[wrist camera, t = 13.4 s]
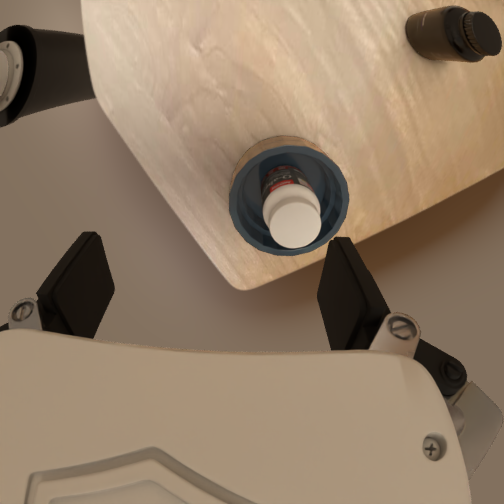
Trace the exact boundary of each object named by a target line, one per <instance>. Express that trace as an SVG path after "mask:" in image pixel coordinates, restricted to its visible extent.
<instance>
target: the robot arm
mask: <svg viewBox="0 0 504 504" xmlns="http://www.w3.org/2000/svg"><path fill="white" fill-rule="evenodd" d="M23 72H24V56H23V52H22V49H21V47H20V46H19V44H18V43H16V42H14V41H4V42H2V43H0V111H2V110H4V109H6V108H7V107H8V106H9V105H10V104H11V103H12V101H13V100H14V98H15V96H16V94H17V92H18V90H19V87H20V85H21V81H22V78H23ZM114 290H115V287H114V282H113V279H112V276H111V272H110V269H109V265H108V262H107V258H106V255H105V251H104V247H103V243H102V240H101V237H100V235H98V234H97V233H96V232H83V233H82V234H81V235H80V236H79V237H78V239H77V240H76V241H75V242H74V243H73V244H72V246H71V247H70V248H69V249H68V251H67V252H66V253H65V254H64V256H63V257H62V258H61V260H60V261H59V262H58V263H57V265H56V266H55V267H54V269H53V270H52V271H51V273H50V274H49V276H48V277H47V278H46V280H45V281H44V282H43V284H42V285H41V287H40V288H39V290H38V291H37V293H36V294H37V296H38V300H37V302H36V301H35V300H34V299H32V298H25V299H22V300H20V301H18V302H17V303H16V304H15V305H14V306H13V307H12V308H11V309H10V312H9V315H8V323H6V324H4V325H3V326H1V327H0V504H472V501H471V494H470V487H469V482H468V481H469V479H470V478H471V476H472V475H473V473H474V472H475V471H476V469H477V468H478V466H479V464H480V463H481V461H482V460H483V458H484V457H485V455H486V454H487V452H488V450H489V449H490V447H491V445H492V443H493V442H494V440H495V438H496V436H497V434H498V433H499V431H500V429H501V427H502V424H503V415H502V412H501V410H500V409H499V407H498V406H497V405H496V404H495V403H494V402H493V401H492V400H491V399H490V398H489V397H488V396H487V395H486V394H485V393H484V392H483V391H482V390H481V389H480V388H479V387H478V386H477V385H476V384H475V383H474V382H473V381H471V382H470V383H469V382H468V381H467V374H466V370H465V368H464V366H463V365H462V364H461V362H460V361H458V360H457V359H455V358H454V357H452V356H450V355H448V354H447V353H445V352H443V351H441V350H439V349H438V348H436V347H434V346H432V345H431V344H429V343H427V342H425V341H424V340H422V339H420V335H421V330H420V327H419V325H418V324H417V322H416V321H415V320H414V319H413V318H412V317H410V316H408V315H406V314H404V313H399V312H394V313H391V312H390V310H389V308H388V306H387V304H386V302H385V300H384V298H383V296H382V294H381V292H380V290H379V288H378V286H377V284H376V282H375V281H374V279H373V277H372V275H371V273H370V272H369V270H367V268H366V266H365V264H364V262H363V261H362V259H361V257H360V255H359V254H358V252H357V250H356V248H355V246H354V245H353V243H352V241H351V239H350V238H349V237H335V238H334V240H330V241H329V245H328V249H327V254H326V258H325V263H324V267H323V271H322V276H321V280H320V284H319V288H318V292H317V299H318V303H319V306H320V310H321V314H322V318H323V321H324V325H325V329H326V332H327V336H328V340H329V344H330V348H331V351H305V352H303V351H302V352H232V351H208V350H190V349H176V348H164V347H153V346H143V345H134V344H125V343H117V342H110V341H103V340H96V339H93V338H94V336H95V333H96V331H97V329H98V327H99V324H100V322H101V320H102V318H103V315H104V313H105V311H106V309H107V307H108V305H109V302H110V300H111V298H112V296H113V294H114Z"/></svg>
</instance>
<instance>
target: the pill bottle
mask: <svg viewBox="0 0 504 504" xmlns="http://www.w3.org/2000/svg"><path fill="white" fill-rule="evenodd" d="M261 198H262V210H263V217H264V221H265V223H266V225H267V226H268V228H269V229H270V233H271V235H272V237H273V239H274V240H275V241H276V242H277V243H278V244H280V245H282V246H284V247H287V248H300V247H303V246H306V245H308V244H310V243H311V242H312V241H313V240H314V239H315V238H316V237H317V236H318V234H319V232H320V229H321V218H320V204H319V201H318V199H317V196H316V195H315V193H314V191H313V189H312V187H311V185H310V183H309V181H308V180H307V177H306V176H305V175H304V174H303V172H301V171H300V170H299V169H297V168H295V167H292V166H278V167H276V168H274V169H272V170H270V171H269V172H268V173H267V174H266V175H265V177H264V178H263V181H262V184H261Z"/></svg>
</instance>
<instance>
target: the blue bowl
mask: <svg viewBox="0 0 504 504" xmlns="http://www.w3.org/2000/svg"><path fill="white" fill-rule="evenodd" d="M278 166H292V167H295V168H297V169H299V170H300V171H301V172H303V174H304V175H305V176H306V177H307V180H308V181H309V183H310V185H311V187H312V189H313V191H314V193H315V195H316V196H317V199H318V201H319V204H320V218H321V229H320V232H319V234H318V236H317V237H316V238H315V239H314V240H313V241H312V242H311V243H310V244H308V245H306V246H303V247H300V248H287V247H284V246H282V245H280V244H278V243H277V242H276V241H275V240H274V239H273V237H272V235H271V233H270V229H269V228H268V226H267V225H266V223H265V221H264V217H263V210H262V198H261V184H262V181H263V178H264V177H265V175H266V174H267V173H268V172H269V171H270V170H272V169H274V168H276V167H278ZM348 204H349V193H348V186H347V182H346V180H345V178H344V176H343V174H342V172H341V170H340V168H339V167H338V166H337V165H336V164H335V163H334V162H333V161H332V160H331V159H330V158H329V157H328V156H327V155H326V154H325V153H324V152H323V151H322V150H321V149H320V148H318V147H317V146H316V145H315V144H314V143H311V142H309V141H307V140H304V139H302V138H299V137H291V136H277V137H273V138H269V139H265V140H262V141H261V142H259V143H258V144H256V145H254V146H253V147H251V148H250V149H249V150H247V152H246V153H245V154H244V155H243V157H242V158H241V159H240V160H239V162H238V163H237V166H236V168H235V171H234V174H233V177H232V181H231V187H230V193H229V211H230V215H231V218H232V221H233V224H234V226H235V228H236V230H237V231H238V232H239V233H240V235H241V236H242V237H243V238H244V240H245V241H246V242H248V243H249V244H251V245H252V246H254V247H255V248H257V249H258V250H260V251H263V252H267V253H270V254H273V255H277V256H293V255H294V256H295V255H299V254H303V253H308V252H311V251H313V250H315V249H317V248H318V247H320V246H322V245H324V244H325V243H327V242H328V241H329V240H330V239H331V238H332V237H333V236H334V235H335V234H336V233H337V232H338V230H339V229H340V227H341V225H342V223H343V222H344V220H345V218H346V215H347V210H348Z"/></svg>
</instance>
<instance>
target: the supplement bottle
mask: <svg viewBox="0 0 504 504" xmlns="http://www.w3.org/2000/svg"><path fill="white" fill-rule="evenodd" d="M407 35H408V38H409V41H410V43H411V44H412V46H413V47H414V49H415V50H416V51H417V52H418V53H419V54H421V55H422V56H424V57H425V58H428V59H431V60H441V61H459V62H478V61H480V60H482V59H483V58H484V57H485V56H488V55H489V56H495V55H497V54H499V52H500V50H501V47H502V41H501V36H500V33H499V30H498V28H497V26H496V25H495V23H494V21H493V20H492V19H491V18H490V17H489V16H487V15H486V14H484V13H483V12H479V11H478V12H470V11H468V10H467V9H465V8H463V7H460V6H447V7H442V8H437V9H432V10H428V11H424V12H420V13H416V14H414V15H412V16H411V17H410V18H409V20H408V22H407Z"/></svg>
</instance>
